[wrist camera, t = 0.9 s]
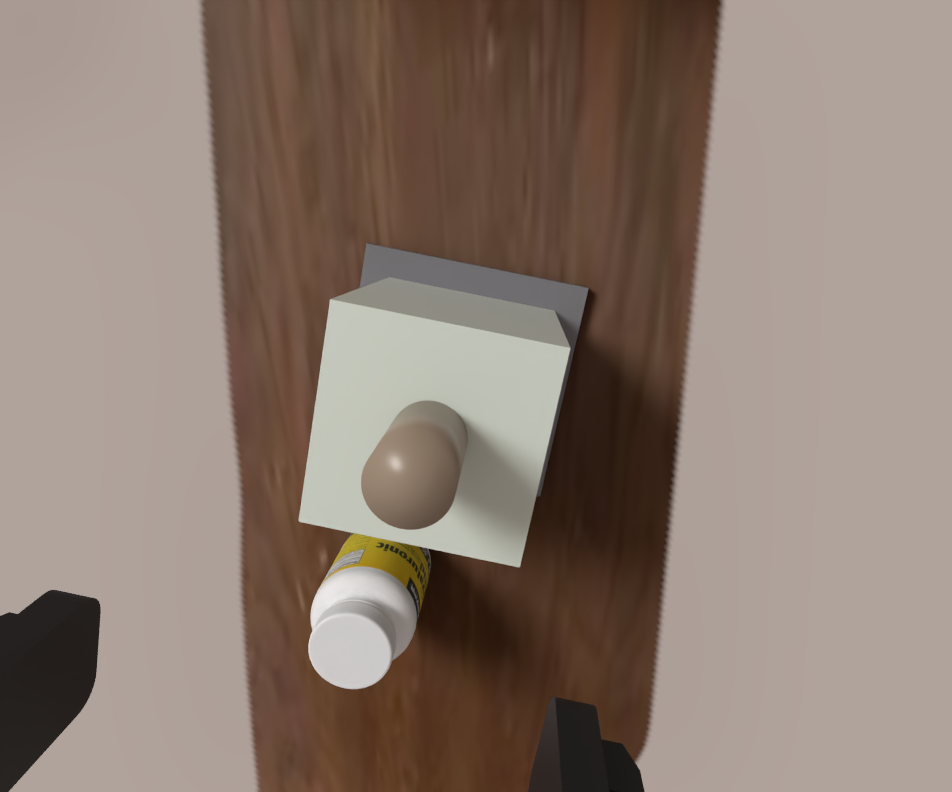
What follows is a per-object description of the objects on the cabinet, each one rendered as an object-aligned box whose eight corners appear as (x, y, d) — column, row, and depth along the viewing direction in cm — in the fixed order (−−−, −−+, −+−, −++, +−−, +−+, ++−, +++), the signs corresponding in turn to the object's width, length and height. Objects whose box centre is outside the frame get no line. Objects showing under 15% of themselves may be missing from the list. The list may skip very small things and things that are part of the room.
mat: (368, 243, 37) (366, 243, 37) (587, 287, 37) (588, 288, 37) (336, 450, 40) (334, 454, 40) (539, 492, 40) (540, 496, 40)
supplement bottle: (450, 570, 42) (429, 671, 32) (377, 613, 43) (336, 723, 33) (398, 498, 41) (362, 580, 31) (325, 544, 42) (268, 636, 32)
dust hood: (389, 277, 37) (286, 316, 21) (554, 310, 37) (582, 376, 21) (363, 434, 39) (251, 583, 23) (519, 467, 39) (519, 639, 23)
